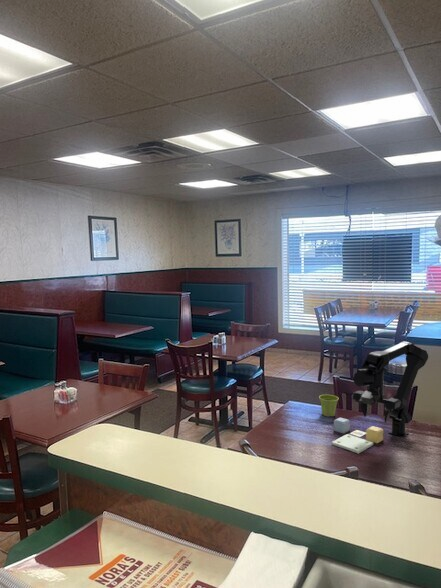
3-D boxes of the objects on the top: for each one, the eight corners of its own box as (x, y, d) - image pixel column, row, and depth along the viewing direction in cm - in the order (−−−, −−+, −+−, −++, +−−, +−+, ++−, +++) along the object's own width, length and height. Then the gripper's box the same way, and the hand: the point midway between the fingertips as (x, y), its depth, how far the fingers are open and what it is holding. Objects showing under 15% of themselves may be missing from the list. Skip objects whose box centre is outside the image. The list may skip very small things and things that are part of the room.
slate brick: (339, 427, 198) (339, 416, 198) (349, 430, 195) (349, 419, 194) (333, 430, 195) (333, 419, 194) (343, 433, 191) (343, 422, 191)
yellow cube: (371, 436, 188) (372, 425, 188) (382, 440, 184) (383, 428, 184) (366, 440, 185) (366, 428, 184) (377, 443, 181) (377, 431, 181)
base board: (347, 436, 188) (347, 433, 188) (373, 444, 180) (373, 441, 180) (331, 444, 180) (331, 441, 180) (358, 453, 171) (358, 450, 171)
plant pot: (340, 413, 216) (341, 396, 215) (334, 419, 208) (335, 401, 207) (322, 410, 221) (322, 393, 220) (316, 415, 213) (316, 398, 212)
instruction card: (356, 430, 195) (356, 429, 195) (367, 433, 191) (367, 432, 191) (349, 433, 191) (349, 433, 191) (360, 437, 187) (360, 436, 187)
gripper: (346, 382, 184) (345, 418, 185) (388, 391, 170) (387, 430, 172) (359, 377, 191) (358, 412, 193) (401, 386, 178) (400, 423, 179)
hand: (375, 419), depth 184 cm, fingers open, 9 cm apart
